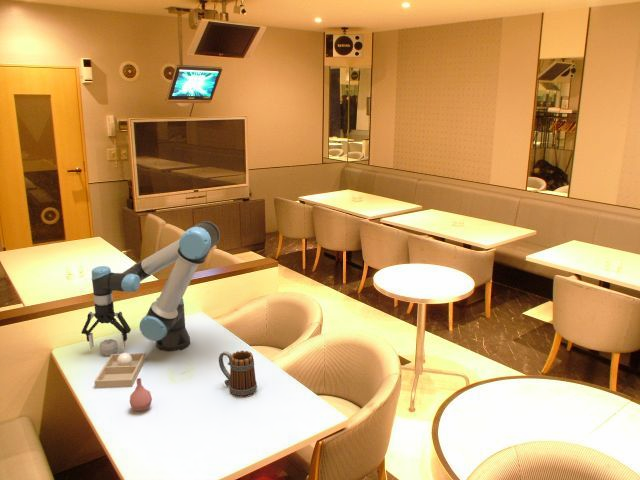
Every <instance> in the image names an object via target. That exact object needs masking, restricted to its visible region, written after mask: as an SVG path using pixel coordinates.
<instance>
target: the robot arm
mask: <svg viewBox="0 0 640 480" xmlns="http://www.w3.org/2000/svg"><path fill="white" fill-rule="evenodd" d="M220 239H221V232H220V229H219V227H218V226H217V225H216V224H215V223H213V222H212V221H209V220H207V221H206V220H204V221H200V222H198V223H196V224H195V225H193V226H192V227H190V228H188V229H187V230H185V232H183V234H182V235H181V236H180V238H179V239H178V240H176V241H174V242H172V243H170V244H169V245H167V246H165V247H163V248H161V249H160V250H158V251H156V252H154V253H153V254H151V255H150V256H147V257H145V258H144V259H142V260H140V261H139V262H137V263H135V264H133V265H132V266H131V267H129V268H128V269H126V270H125V271H123V272H112V271H111V267H109V266H105V265H103V266H101V265H100V266H96V267H94V268H93V269H92V270H91V282H92V291H93V293H92V294H93V303H94V312H92V311H89V313H88V314H87V319H86V321H85V324H84V326H83V328H82V330H81V334H82V335H86V341H87V342H89V343H88V344H89V349H90V350H92V349H93V348H94V347H95V345H94V335H93V332H92V331H93V330H94V329H95V328H96V326H97V325H98V324H99V323H100V324H110V325H113V326H114V327H115V328H116V329H117V330H118V331H119V332H120V333H121V334H120V340H121V349H122V350H123V349H125V347H126V341H127V340H128V334H130V333H131V330H132V329H131V327H130V326H129V324H128V322H127V321H126V319H125V317H124V316H123V312H122V311H119V312H115V308H114V297H113V291H116V292H124V293H134V292H137V291H138V290H139V288H140V287H141V286H140V285H141V282H142V281H143V280H145V279H147V278H149V277H151V276H152V275H154V274H155V273H157V272H160V271H161V270H163V269H165V268H166V267H169V266H170V265H172V264H174V265H173V266H172V267H173V268H172V270H171V271H170V274H169V276H168V278H167V280H166V282H165V284H164V286H163V288H162V291H161V293H160V294H159V296H158V297H156V300H155V301H153V302H152V303H151V304H150V307H149V309H148V311H147V313H146V314H145V316H144V317H142V318H141V320H140V322H139V326H138V327H139V331H140V332H141V335H143V337H144V338H146V339H148V340H150V341H153V342H155V347H156V348H157V349H158V350H160V351H164V352H175V351H182V350H184V349H186V348H188V347H189V346H190V345H191V337H190V334H189V332H188V330H187V327H186V317H185V303H184V302H185V301H184V298H183V297H184V295H185V293H186V290H187V288H188V287H189V285H190V283H191V281H192V279H193V278H194V275H195V273H196V271H197V269H198V267H199V266H200V265H204V263H205V261H206V260H207V258H208V255H209V254H210V251H211V250H212V249H213V248H214V247H215V246H216V245H217V244H218V243H219V241H220ZM93 318H95V319H96V320H95V322H94V323H93V324H92V325H91V327H90V328H89V329H88V327H89V325H90V323H91V320H92V319H93ZM116 318H117V319H116ZM118 321H119V322H118Z"/></svg>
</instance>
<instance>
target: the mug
mask: <svg viewBox="0 0 640 480" xmlns="http://www.w3.org/2000/svg"><path fill="white" fill-rule="evenodd" d="M224 356H226V357H227V358H228V363H227V365H228V366H229V367H230V370H229V371H230V372H229V371H228V370H227V368H226V367H225V364H224ZM218 365H219V368H220V370H221V372H222V374H223V376H225V378H226V380H223V381H224V385H226V386H228V387H229V392H230V394H231V395H232V396H234V397H237V398H247V397H250V396H252V395H253V394H255V393H256V391H257V388H258V385H257V379H256V372H255V371H256V370H255V359H254V356H253V353H252V352H250V351H248V350H240V351H239V350H238V351H236V352H233V353H231V352H230V351H228V350H227V351H223V352H221V353H220V354H219V356H218Z"/></svg>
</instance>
